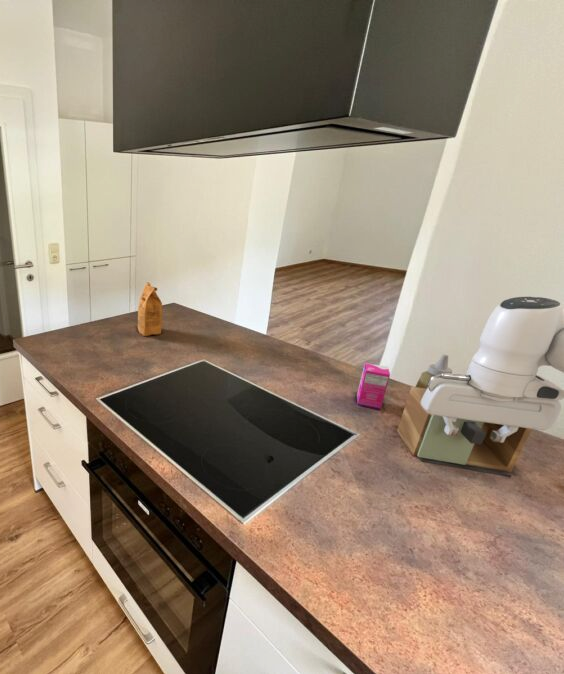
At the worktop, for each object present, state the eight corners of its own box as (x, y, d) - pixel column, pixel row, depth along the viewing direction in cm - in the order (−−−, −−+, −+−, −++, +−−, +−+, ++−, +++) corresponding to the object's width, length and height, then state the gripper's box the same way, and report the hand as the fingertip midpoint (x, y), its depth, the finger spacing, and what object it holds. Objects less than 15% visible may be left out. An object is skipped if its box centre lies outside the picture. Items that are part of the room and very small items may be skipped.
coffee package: (155, 326, 169) (157, 280, 161) (163, 336, 158) (165, 287, 150) (135, 328, 168) (135, 281, 160) (141, 337, 156) (142, 288, 148)
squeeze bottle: (398, 409, 102) (417, 351, 95) (419, 404, 104) (439, 347, 98) (429, 425, 95) (452, 363, 88) (450, 419, 97) (474, 359, 90)
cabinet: (483, 444, 87) (504, 398, 83) (516, 477, 77) (542, 427, 72) (396, 430, 93) (411, 386, 88) (416, 460, 82) (434, 412, 78)
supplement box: (355, 396, 109) (364, 362, 105) (379, 401, 106) (389, 366, 102) (356, 405, 104) (365, 369, 100) (380, 410, 101) (391, 374, 97)
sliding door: (463, 463, 80) (482, 420, 76) (475, 477, 76) (495, 433, 72) (416, 455, 83) (432, 413, 79) (425, 468, 79) (442, 425, 75)
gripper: (440, 378, 71) (419, 436, 76) (578, 394, 65) (545, 456, 70) (426, 365, 76) (407, 420, 81) (552, 378, 70) (523, 437, 75)
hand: (472, 437), depth 76 cm, fingers open, 6 cm apart
